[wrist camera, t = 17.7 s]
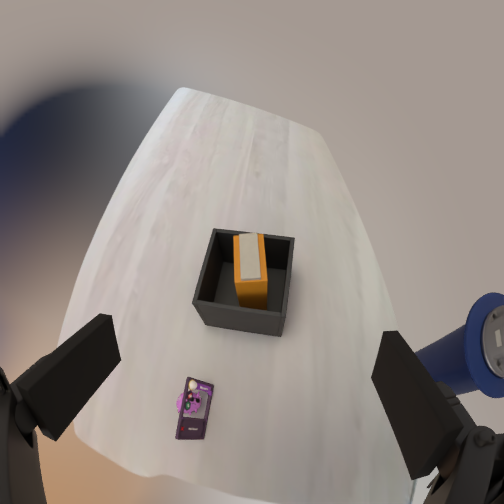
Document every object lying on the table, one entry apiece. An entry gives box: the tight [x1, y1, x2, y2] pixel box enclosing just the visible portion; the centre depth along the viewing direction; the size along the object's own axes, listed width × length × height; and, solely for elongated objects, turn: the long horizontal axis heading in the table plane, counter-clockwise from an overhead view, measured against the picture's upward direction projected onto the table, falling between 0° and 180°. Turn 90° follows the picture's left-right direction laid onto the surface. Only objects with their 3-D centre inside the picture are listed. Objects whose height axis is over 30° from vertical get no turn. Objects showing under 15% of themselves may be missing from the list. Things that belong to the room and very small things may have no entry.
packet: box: [233, 233, 268, 311], centre depth 41 cm, size 4×7×13 cm, turn 3°
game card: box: [175, 377, 214, 440], centre depth 35 cm, size 7×5×9 cm
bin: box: [192, 229, 295, 337], centre depth 42 cm, size 12×12×10 cm
